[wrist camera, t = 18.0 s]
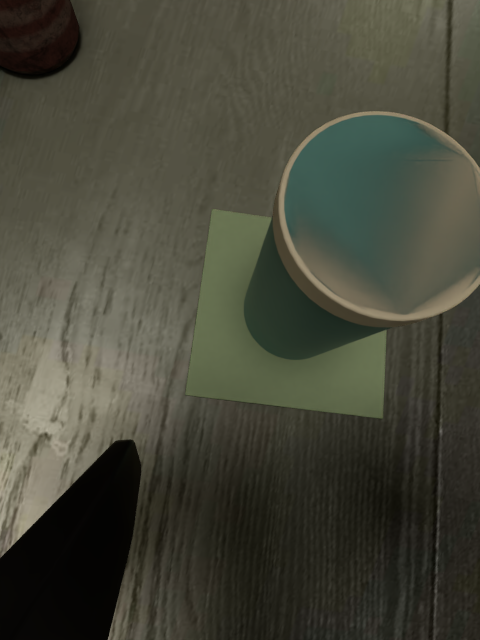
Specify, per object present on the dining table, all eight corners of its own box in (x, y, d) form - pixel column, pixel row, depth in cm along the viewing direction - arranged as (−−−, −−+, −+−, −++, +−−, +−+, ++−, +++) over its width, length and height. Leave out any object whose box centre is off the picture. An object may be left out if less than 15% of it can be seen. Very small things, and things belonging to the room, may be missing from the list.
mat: (380, 418, 21) (383, 418, 21) (185, 395, 21) (184, 395, 20) (388, 236, 23) (390, 234, 23) (211, 211, 23) (211, 208, 22)
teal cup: (335, 372, 21) (490, 344, 9) (231, 348, 21) (256, 290, 9) (352, 273, 22) (507, 139, 11) (253, 249, 22) (300, 87, 10)
